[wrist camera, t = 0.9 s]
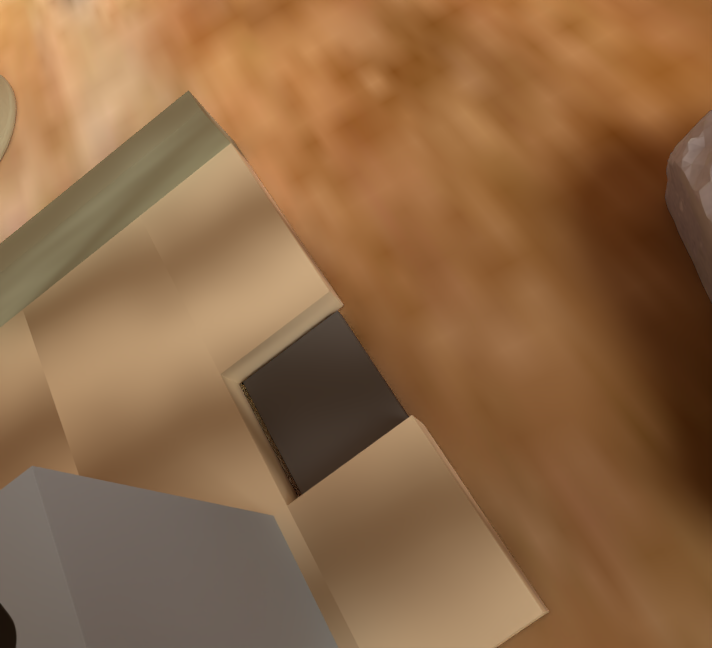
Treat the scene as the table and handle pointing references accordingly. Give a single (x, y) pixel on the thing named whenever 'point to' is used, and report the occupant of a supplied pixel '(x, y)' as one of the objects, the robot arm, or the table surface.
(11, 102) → the can
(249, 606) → the slate block
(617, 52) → the table surface
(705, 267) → the stone block
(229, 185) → the trap board
